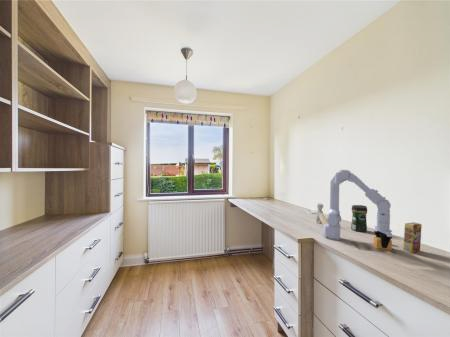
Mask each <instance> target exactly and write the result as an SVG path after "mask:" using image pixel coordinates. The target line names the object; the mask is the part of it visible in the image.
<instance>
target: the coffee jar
mask: <svg viewBox="0 0 450 337" xmlns="http://www.w3.org/2000/svg"><path fill="white" fill-rule="evenodd" d="M351 213H352V216H351V217H352V218H351V225H350V228H351V230H352V231H354V232H355V231H356V232H368V225H367V214H368V207H367V206H366V205H362V204H361V205H360V204H353V205H351Z"/></svg>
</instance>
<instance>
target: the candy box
mask: <svg viewBox="0 0 450 337" xmlns="http://www.w3.org/2000/svg"><path fill="white" fill-rule="evenodd" d="M422 227H423V226H422V224H421V223H419V222H406V223H404V231H403V232H404V235H403V245H402V246H403V247H402V248H403V250H404V251H406V252H407V253H410V254H413V253H417V252H420V251H421V243H422V242H421V241H422V240H421V239H422Z"/></svg>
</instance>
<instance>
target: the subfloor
mask: <svg viewBox="0 0 450 337" xmlns="http://www.w3.org/2000/svg"><path fill="white" fill-rule="evenodd" d="M349 241H350V243H351V244H352V245H353V246H354V247H355V248H356V249H358V250H359V251H369V252H377V253H386V254H387V255H389V256H390V255H391V256H395V255H402V253H401V252H400V251H399V250H397V249H396V248H394V247H392V250H388V249H378V248H376V247H374V246H373V245H374V241H371V242H365V241H364V242H362V241H354V240H349Z"/></svg>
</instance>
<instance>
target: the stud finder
mask: <svg viewBox="0 0 450 337" xmlns="http://www.w3.org/2000/svg"><path fill="white" fill-rule="evenodd" d="M373 242H374V245H373V246H374V247H376V248H378V249H388V250H392V248H393V247H392V245H393V240H392V239H391V240H390V241H389V244H388V246H387V248H383V247H382V245H381V238H379V237H376V236H374V237H373Z"/></svg>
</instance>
